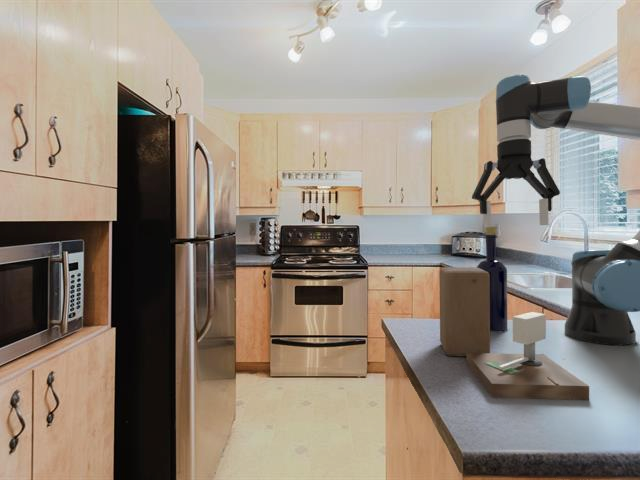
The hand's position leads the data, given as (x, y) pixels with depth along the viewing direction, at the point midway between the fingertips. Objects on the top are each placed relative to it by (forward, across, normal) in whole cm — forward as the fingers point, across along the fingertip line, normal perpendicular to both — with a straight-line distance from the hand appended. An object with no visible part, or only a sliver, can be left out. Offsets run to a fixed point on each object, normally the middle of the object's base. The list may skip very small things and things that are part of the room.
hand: (515, 226), depth 92 cm
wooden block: (+30, +15, +5) cm, 34 cm away
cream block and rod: (+27, +8, +21) cm, 35 cm away
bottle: (+30, +1, -16) cm, 34 cm away
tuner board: (+30, +9, +22) cm, 38 cm away
